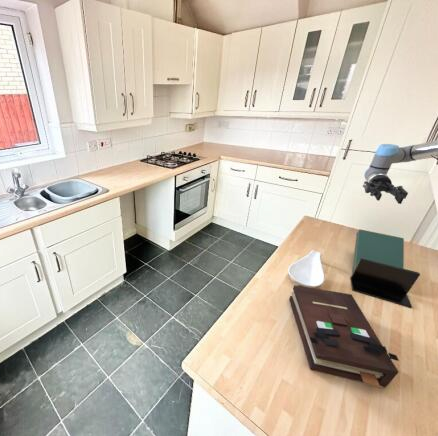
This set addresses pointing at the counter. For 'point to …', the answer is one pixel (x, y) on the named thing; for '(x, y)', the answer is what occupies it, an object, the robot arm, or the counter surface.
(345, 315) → the decorative book
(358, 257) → the book
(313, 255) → the spoon rest
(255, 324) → the counter surface
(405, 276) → the bookend
